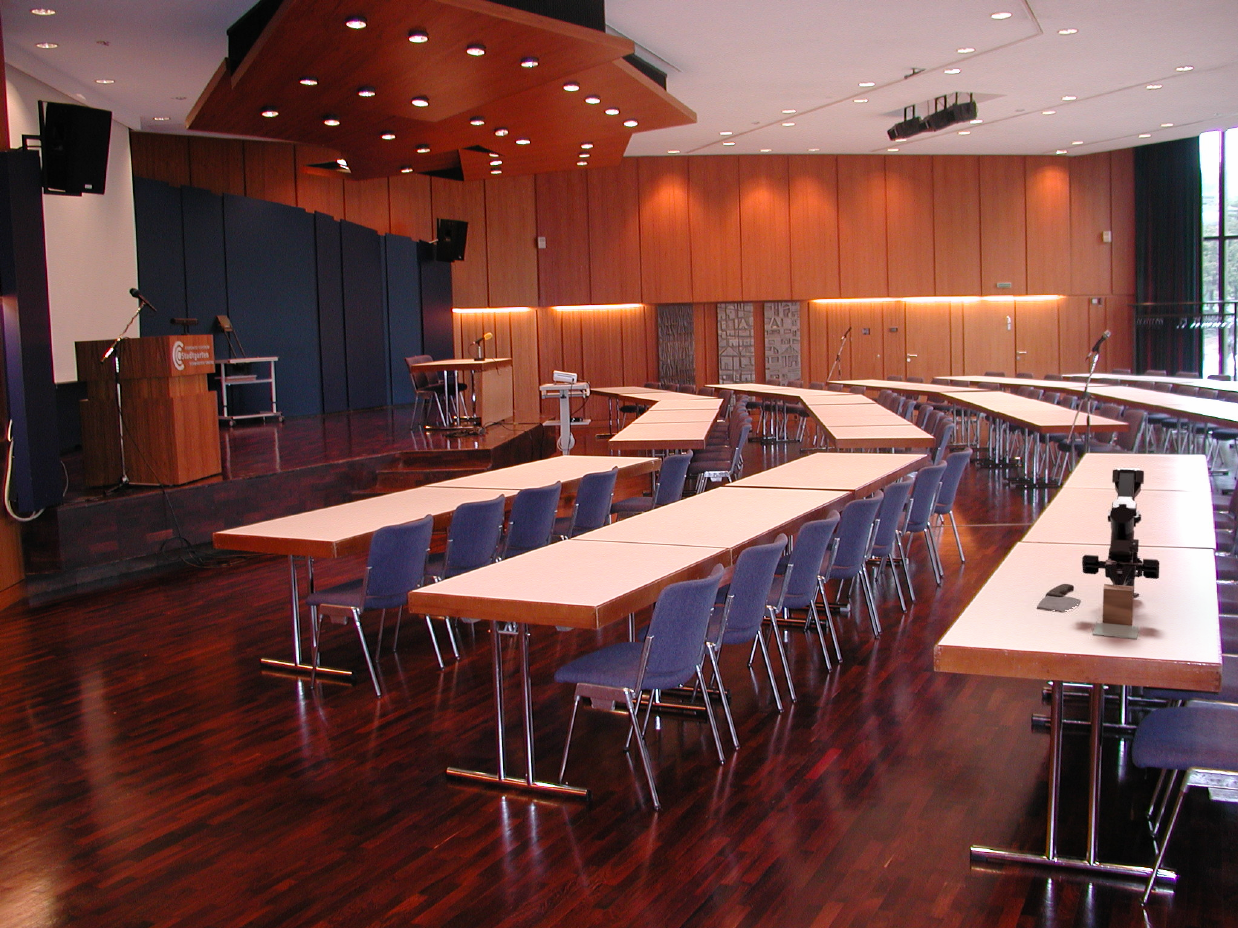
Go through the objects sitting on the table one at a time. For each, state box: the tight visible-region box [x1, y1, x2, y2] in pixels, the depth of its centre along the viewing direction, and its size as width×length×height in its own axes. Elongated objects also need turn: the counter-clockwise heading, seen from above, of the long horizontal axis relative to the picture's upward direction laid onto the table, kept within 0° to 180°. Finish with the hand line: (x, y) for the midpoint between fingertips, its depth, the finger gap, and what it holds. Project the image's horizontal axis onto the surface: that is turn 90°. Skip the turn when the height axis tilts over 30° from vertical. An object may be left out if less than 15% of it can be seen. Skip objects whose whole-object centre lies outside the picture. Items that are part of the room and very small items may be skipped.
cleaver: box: [1036, 583, 1081, 613], centre depth 301 cm, size 29×10×2 cm, turn 147°
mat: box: [1092, 621, 1139, 640], centre depth 268 cm, size 12×10×1 cm
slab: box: [1102, 583, 1135, 626], centre depth 275 cm, size 3×7×10 cm, turn 62°
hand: (1118, 592), depth 277 cm, fingers closed
